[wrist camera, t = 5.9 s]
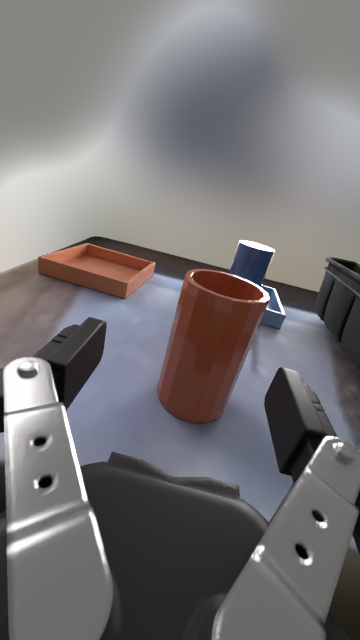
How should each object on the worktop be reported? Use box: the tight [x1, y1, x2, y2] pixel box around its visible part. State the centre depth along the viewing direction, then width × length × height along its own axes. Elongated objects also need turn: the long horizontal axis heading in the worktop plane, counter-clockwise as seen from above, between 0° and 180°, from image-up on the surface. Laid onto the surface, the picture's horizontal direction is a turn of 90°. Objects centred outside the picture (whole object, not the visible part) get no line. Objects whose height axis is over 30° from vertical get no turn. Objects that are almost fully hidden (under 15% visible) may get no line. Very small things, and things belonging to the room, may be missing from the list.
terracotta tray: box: [38, 243, 155, 299], centre depth 47 cm, size 14×14×2 cm
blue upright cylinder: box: [229, 240, 275, 287], centre depth 48 cm, size 6×6×10 cm
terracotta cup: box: [158, 269, 270, 423], centre depth 22 cm, size 6×6×11 cm
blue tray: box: [260, 285, 286, 329], centre depth 50 cm, size 14×14×2 cm
